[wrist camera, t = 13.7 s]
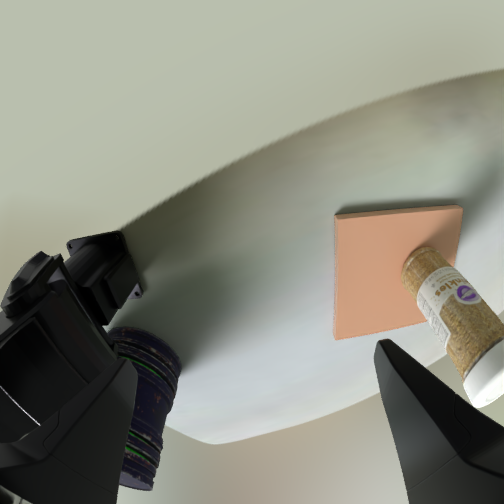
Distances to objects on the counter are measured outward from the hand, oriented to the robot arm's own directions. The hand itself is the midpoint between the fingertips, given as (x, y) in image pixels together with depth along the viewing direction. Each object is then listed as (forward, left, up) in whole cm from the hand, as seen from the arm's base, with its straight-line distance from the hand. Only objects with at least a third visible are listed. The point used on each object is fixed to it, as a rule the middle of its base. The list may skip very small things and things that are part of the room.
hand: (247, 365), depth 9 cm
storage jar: (-15, -14, -13) cm, 24 cm away
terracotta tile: (+12, -6, -13) cm, 19 cm away
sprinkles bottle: (+14, -5, -12) cm, 19 cm away
